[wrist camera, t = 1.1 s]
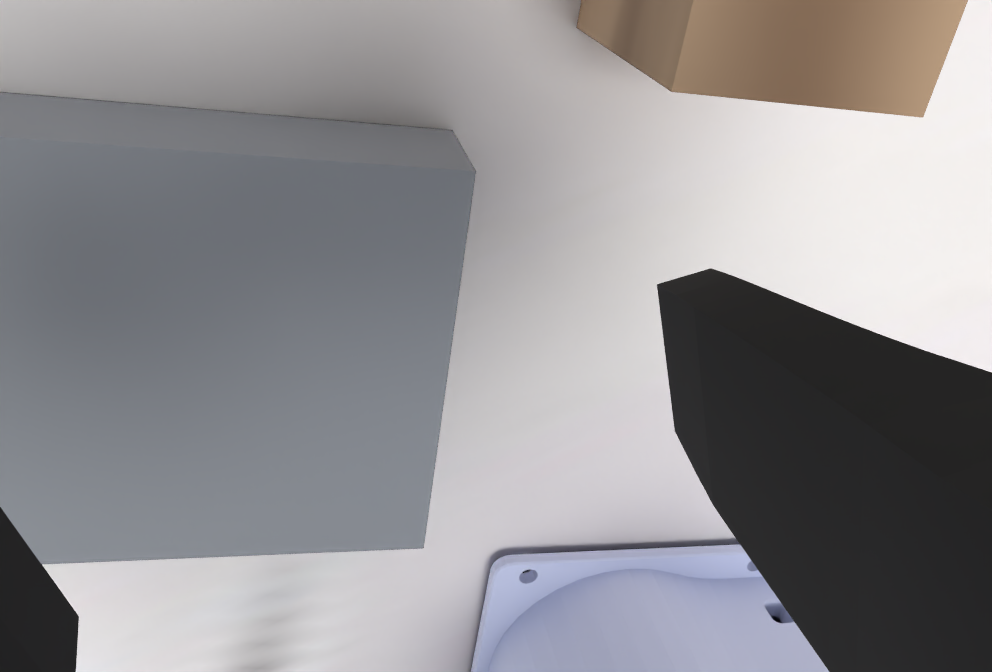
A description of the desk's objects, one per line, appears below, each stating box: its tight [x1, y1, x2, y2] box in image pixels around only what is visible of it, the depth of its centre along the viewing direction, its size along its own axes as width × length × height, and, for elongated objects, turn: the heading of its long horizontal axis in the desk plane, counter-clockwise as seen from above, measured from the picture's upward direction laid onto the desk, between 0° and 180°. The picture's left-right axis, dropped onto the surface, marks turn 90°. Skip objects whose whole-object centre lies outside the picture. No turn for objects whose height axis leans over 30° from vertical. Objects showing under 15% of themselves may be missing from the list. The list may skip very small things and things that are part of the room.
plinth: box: [0, 92, 476, 564], centre depth 18 cm, size 9×9×2 cm
